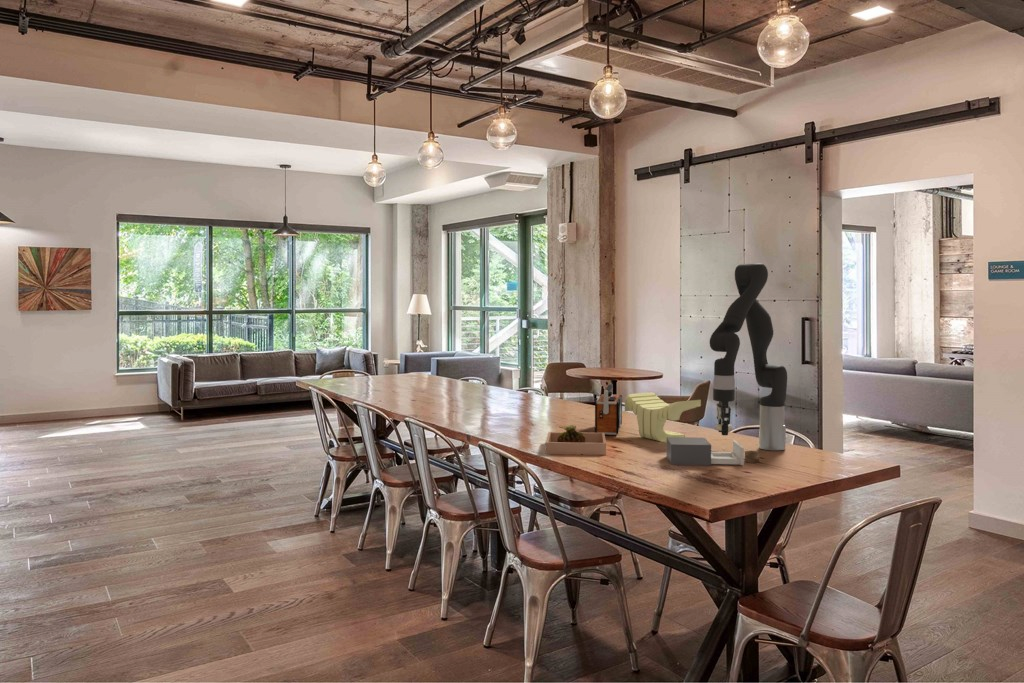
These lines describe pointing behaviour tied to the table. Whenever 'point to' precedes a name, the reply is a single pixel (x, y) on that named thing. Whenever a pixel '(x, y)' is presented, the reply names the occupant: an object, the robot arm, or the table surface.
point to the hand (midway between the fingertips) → (723, 433)
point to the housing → (688, 451)
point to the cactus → (571, 435)
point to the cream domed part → (719, 427)
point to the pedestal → (752, 456)
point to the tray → (729, 456)
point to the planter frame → (577, 445)
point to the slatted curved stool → (656, 414)
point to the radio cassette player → (608, 412)
